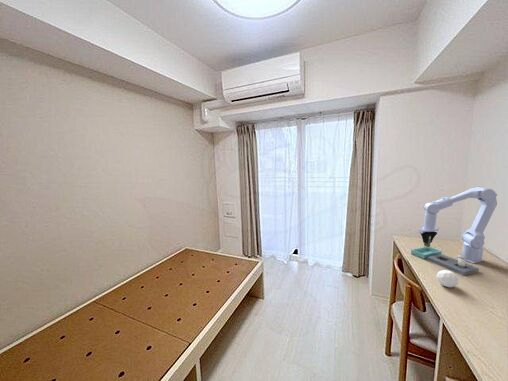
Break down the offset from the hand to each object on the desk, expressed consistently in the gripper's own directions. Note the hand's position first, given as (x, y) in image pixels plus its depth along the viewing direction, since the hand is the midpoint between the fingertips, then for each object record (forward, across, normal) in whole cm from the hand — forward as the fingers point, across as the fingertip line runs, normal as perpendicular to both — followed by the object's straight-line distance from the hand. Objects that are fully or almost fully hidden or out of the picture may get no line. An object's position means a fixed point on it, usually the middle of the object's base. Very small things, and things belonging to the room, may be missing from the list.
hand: (427, 242), depth 134 cm
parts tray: (+8, 0, 0) cm, 8 cm away
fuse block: (+8, 0, +14) cm, 16 cm away
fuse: (+8, 0, +18) cm, 20 cm away
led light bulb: (+3, 0, 0) cm, 3 cm away
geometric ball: (+8, +24, +26) cm, 37 cm away
